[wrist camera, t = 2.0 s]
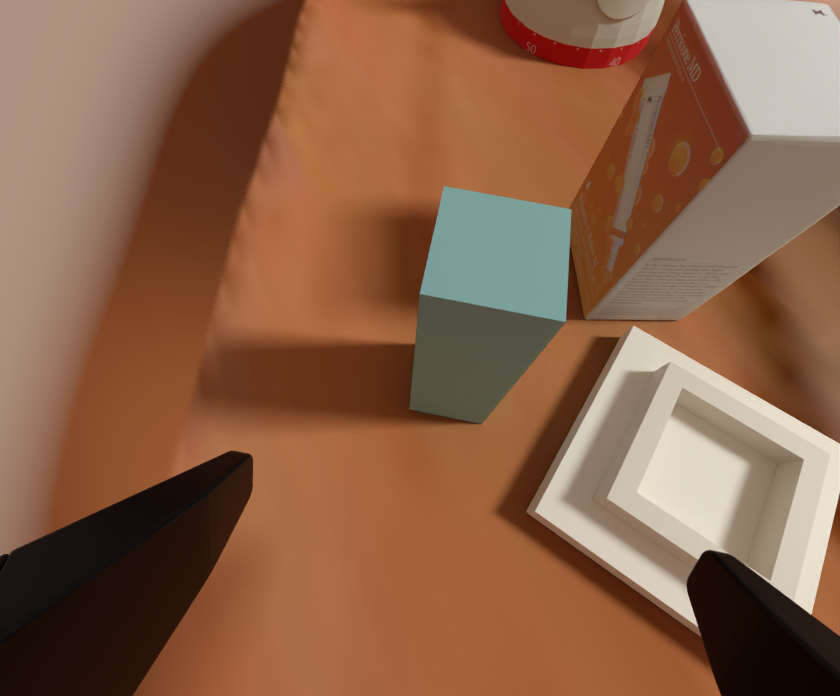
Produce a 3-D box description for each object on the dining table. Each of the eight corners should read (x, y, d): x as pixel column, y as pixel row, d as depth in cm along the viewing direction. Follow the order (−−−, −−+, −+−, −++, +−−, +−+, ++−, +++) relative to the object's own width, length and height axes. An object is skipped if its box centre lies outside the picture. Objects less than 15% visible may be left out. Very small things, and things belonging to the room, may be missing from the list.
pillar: (481, 424, 22) (566, 321, 11) (409, 409, 22) (419, 293, 11) (490, 357, 23) (571, 209, 12) (423, 344, 23) (444, 186, 12)
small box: (560, 219, 28) (682, -10, 16) (649, 221, 28) (833, -2, 16) (581, 322, 25) (752, 133, 13) (681, 323, 25) (940, 139, 13)
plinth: (762, 681, 18) (829, 709, 15) (525, 512, 20) (545, 510, 17) (821, 454, 22) (881, 444, 19) (620, 336, 24) (648, 313, 21)
